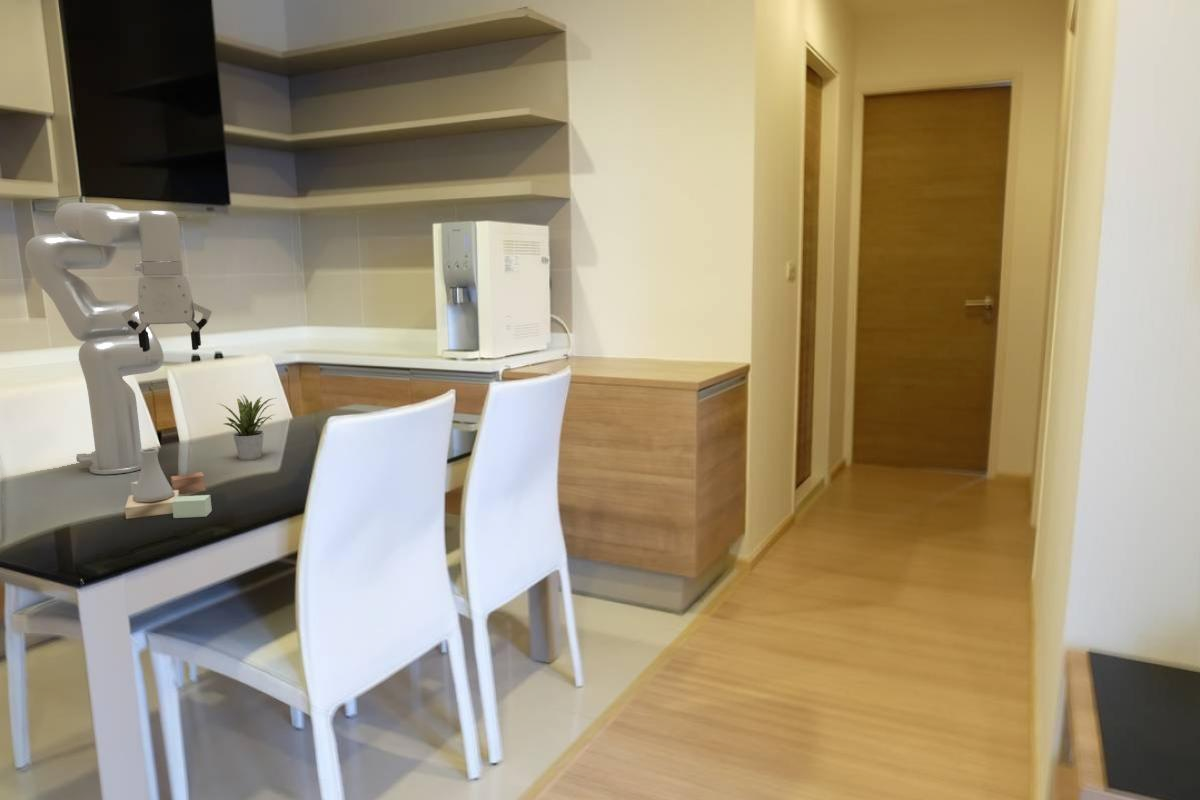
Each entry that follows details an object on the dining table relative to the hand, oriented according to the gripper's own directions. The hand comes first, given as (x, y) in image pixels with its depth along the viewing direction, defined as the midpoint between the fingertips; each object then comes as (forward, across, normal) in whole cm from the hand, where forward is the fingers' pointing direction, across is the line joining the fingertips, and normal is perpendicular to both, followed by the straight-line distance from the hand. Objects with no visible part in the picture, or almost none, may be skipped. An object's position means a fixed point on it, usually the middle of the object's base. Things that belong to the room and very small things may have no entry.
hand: (171, 350), depth 174 cm
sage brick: (+31, +6, -23) cm, 39 cm away
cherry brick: (+31, +2, -5) cm, 31 cm away
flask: (+28, -2, -17) cm, 33 cm away
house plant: (+31, +12, +22) cm, 39 cm away
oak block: (+31, -2, -17) cm, 36 cm away
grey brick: (+31, -5, -8) cm, 32 cm away
